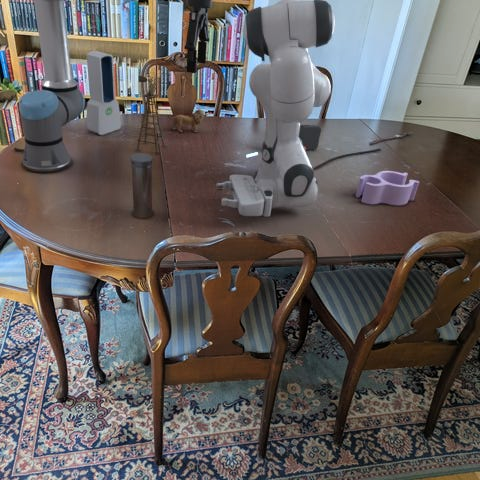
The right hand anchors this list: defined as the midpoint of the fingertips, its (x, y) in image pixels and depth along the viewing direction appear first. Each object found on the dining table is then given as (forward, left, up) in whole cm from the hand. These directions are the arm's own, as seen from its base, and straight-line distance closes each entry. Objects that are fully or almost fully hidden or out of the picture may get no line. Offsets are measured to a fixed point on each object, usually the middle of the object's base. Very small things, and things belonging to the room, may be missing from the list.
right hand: (218, 194), depth 139 cm
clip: (-58, +16, -6) cm, 61 cm away
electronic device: (+5, -78, -6) cm, 78 cm away
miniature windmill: (-4, -53, -6) cm, 54 cm away
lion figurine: (-27, -65, -6) cm, 71 cm away
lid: (+20, -10, +11) cm, 25 cm away
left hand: (-9, -29, +29) cm, 42 cm away
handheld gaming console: (-56, -30, -6) cm, 64 cm away
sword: (-109, -21, -6) cm, 111 cm away
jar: (+20, -10, -7) cm, 23 cm away
